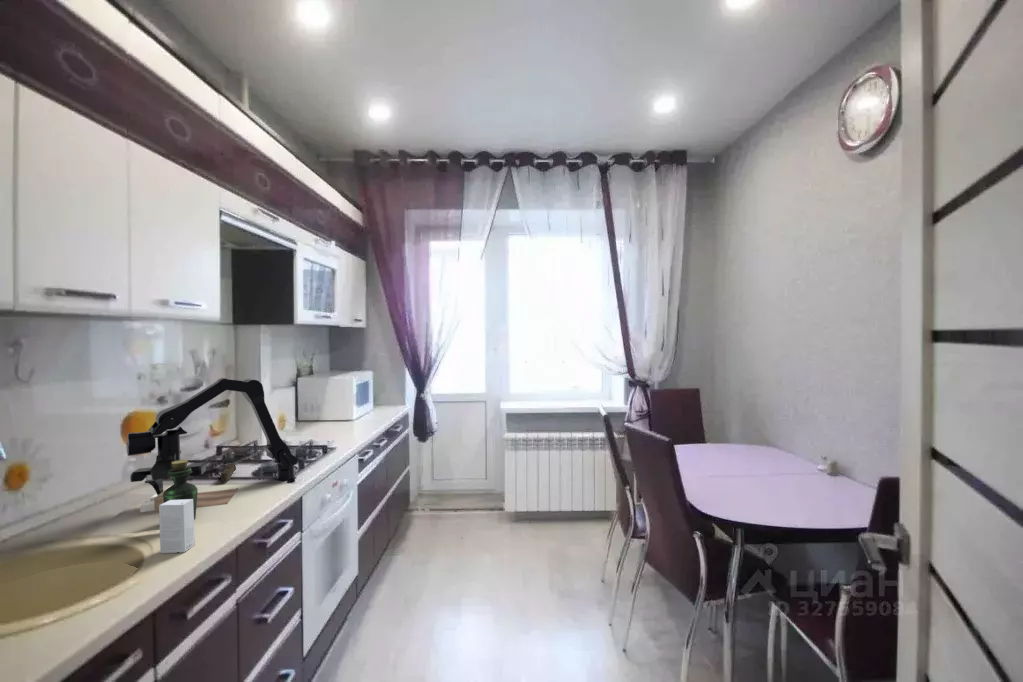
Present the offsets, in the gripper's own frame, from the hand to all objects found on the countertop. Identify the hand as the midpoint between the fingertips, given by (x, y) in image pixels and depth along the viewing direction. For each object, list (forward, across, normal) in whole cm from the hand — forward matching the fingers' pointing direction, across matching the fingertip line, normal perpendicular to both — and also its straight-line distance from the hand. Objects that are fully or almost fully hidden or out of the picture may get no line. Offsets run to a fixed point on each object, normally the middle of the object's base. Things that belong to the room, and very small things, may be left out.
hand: (170, 498), depth 149 cm
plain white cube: (+2, -4, +4) cm, 6 cm away
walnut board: (+2, +10, 0) cm, 11 cm away
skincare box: (+2, +13, -37) cm, 39 cm away
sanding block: (+2, 0, 0) cm, 2 cm away
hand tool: (+3, +11, +25) cm, 28 cm away
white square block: (+2, -4, -4) cm, 6 cm away
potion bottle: (+2, +8, -19) cm, 21 cm away
